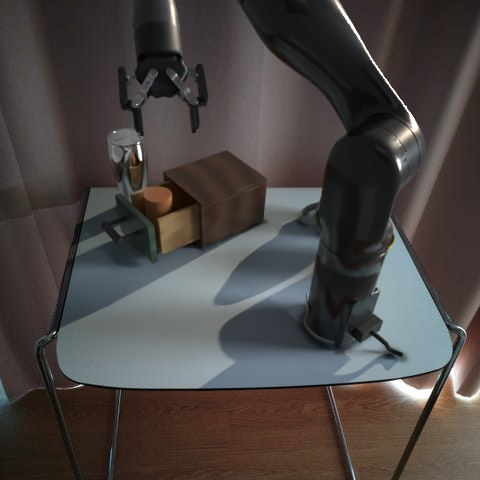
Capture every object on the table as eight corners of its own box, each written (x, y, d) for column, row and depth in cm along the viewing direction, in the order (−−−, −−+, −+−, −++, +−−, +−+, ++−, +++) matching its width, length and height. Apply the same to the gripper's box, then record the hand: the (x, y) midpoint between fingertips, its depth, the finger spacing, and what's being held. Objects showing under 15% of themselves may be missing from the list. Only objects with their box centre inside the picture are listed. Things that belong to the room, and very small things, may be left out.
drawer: (128, 274, 84) (121, 237, 79) (97, 240, 90) (89, 203, 85) (215, 236, 92) (215, 201, 86) (182, 207, 98) (179, 172, 92)
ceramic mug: (354, 216, 100) (362, 182, 94) (350, 240, 94) (357, 206, 89) (302, 207, 101) (307, 173, 96) (295, 230, 96) (299, 196, 90)
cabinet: (202, 248, 91) (201, 204, 84) (166, 215, 98) (162, 171, 91) (263, 221, 97) (267, 178, 90) (226, 192, 104) (226, 149, 97)
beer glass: (124, 196, 102) (113, 125, 91) (157, 199, 101) (150, 129, 90) (113, 215, 97) (100, 143, 86) (148, 219, 97) (139, 148, 86)
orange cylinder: (179, 233, 91) (176, 196, 85) (156, 243, 89) (152, 205, 83) (165, 220, 93) (162, 183, 87) (143, 229, 91) (138, 192, 85)
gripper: (199, 43, 85) (209, 138, 86) (114, 45, 83) (125, 143, 83) (202, 17, 77) (213, 122, 78) (109, 20, 75) (121, 127, 76)
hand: (168, 133), depth 81 cm, fingers open, 8 cm apart
